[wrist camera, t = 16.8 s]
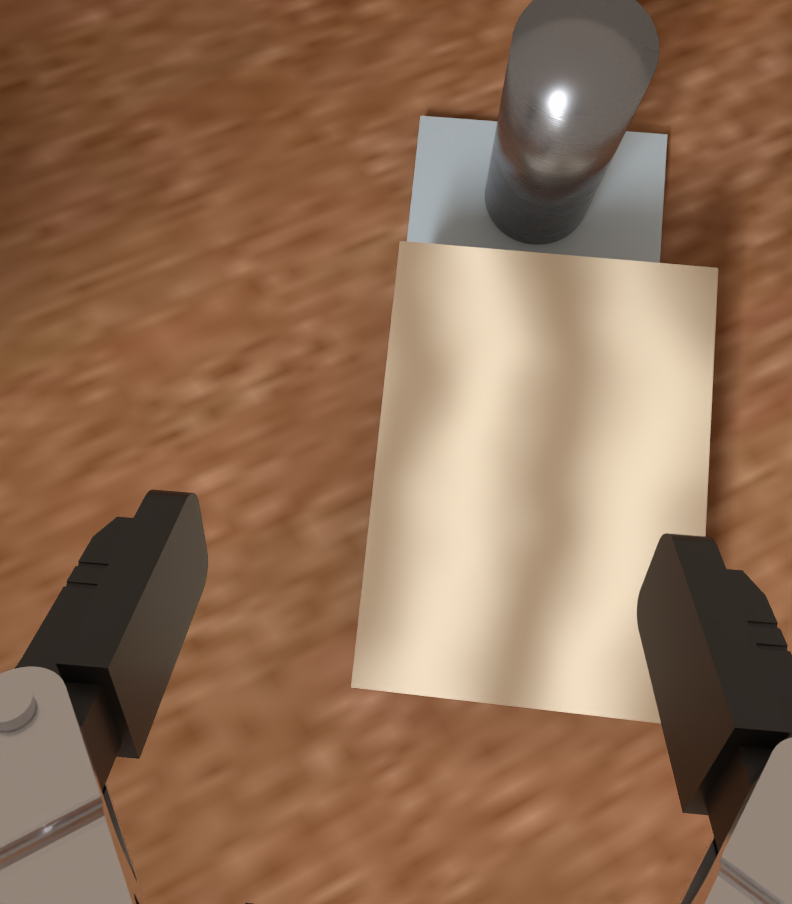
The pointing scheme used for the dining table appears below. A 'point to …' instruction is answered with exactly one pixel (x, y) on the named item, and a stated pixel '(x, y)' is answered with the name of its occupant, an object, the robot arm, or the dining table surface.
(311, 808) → the dining table surface
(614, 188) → the slate-grey pad
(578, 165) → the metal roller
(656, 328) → the birch slab
